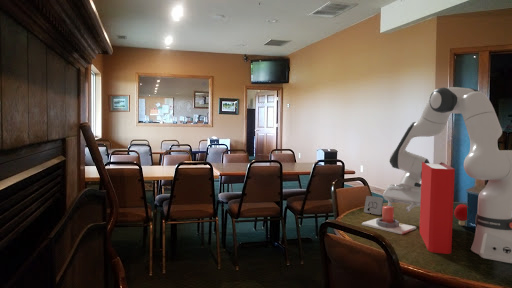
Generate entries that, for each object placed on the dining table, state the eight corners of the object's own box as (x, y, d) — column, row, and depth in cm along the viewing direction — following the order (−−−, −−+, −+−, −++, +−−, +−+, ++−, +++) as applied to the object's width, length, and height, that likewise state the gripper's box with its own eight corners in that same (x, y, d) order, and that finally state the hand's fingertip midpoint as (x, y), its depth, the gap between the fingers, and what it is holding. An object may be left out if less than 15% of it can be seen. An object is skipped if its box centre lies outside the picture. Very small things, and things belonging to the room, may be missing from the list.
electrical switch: (363, 212, 205) (364, 195, 205) (367, 212, 209) (368, 195, 209) (380, 215, 199) (381, 198, 199) (384, 215, 203) (385, 197, 203)
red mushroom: (454, 222, 186) (454, 202, 186) (470, 224, 183) (471, 204, 182) (452, 226, 178) (453, 206, 178) (469, 229, 175) (470, 207, 174)
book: (419, 232, 169) (422, 161, 167) (438, 233, 167) (441, 162, 165) (428, 252, 143) (432, 168, 141) (452, 254, 141) (455, 169, 139)
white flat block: (416, 228, 175) (416, 222, 175) (401, 234, 165) (401, 227, 165) (377, 220, 190) (377, 214, 189) (361, 224, 180) (361, 218, 180)
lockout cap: (395, 225, 177) (395, 207, 176) (389, 227, 173) (390, 208, 173) (385, 223, 180) (385, 205, 180) (380, 224, 177) (380, 207, 176)
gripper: (386, 180, 195) (376, 201, 189) (426, 185, 180) (416, 208, 174) (390, 187, 199) (380, 208, 193) (430, 193, 183) (420, 216, 177)
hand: (398, 208), depth 183 cm, fingers open, 8 cm apart
